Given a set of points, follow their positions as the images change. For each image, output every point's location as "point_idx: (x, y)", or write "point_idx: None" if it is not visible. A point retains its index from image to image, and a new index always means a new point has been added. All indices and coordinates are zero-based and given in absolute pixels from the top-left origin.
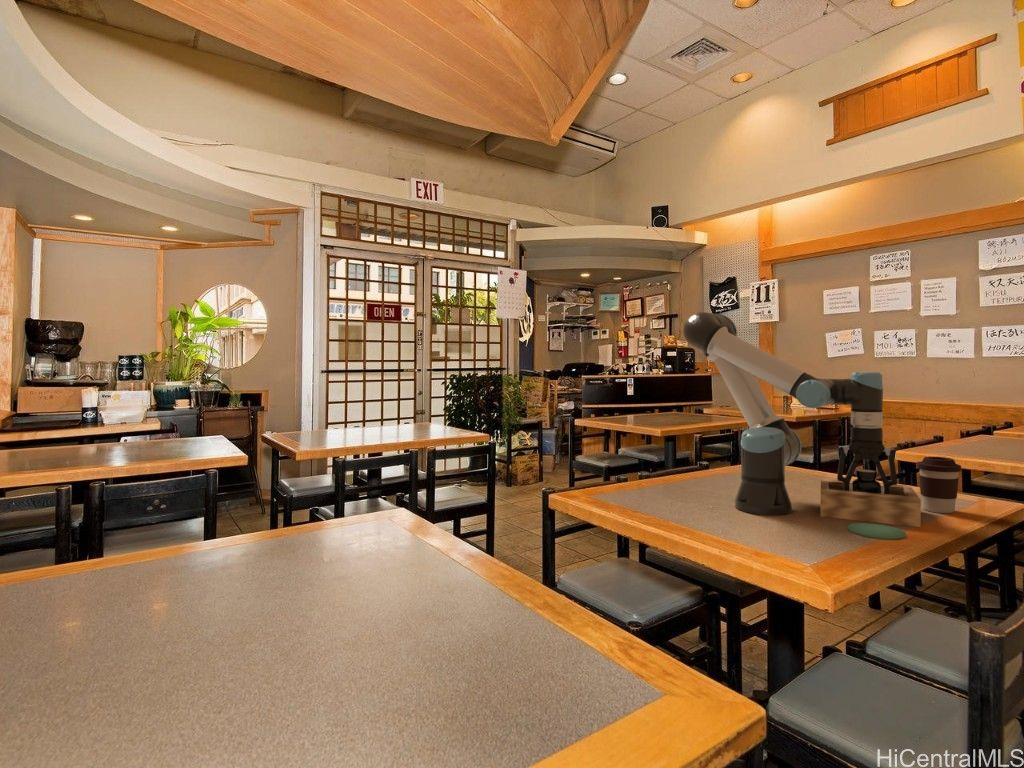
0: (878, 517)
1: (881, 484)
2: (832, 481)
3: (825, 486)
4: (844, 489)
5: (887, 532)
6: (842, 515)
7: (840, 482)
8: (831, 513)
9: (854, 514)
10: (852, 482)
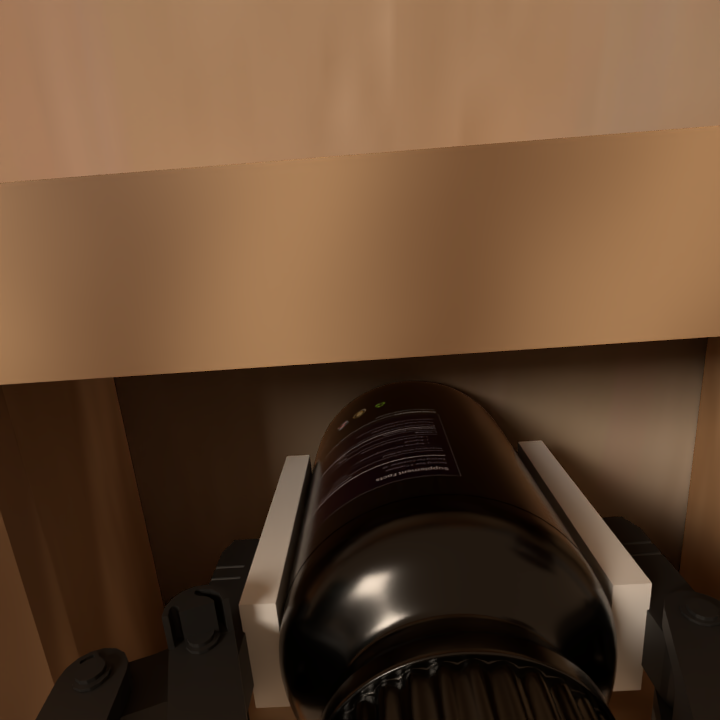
0: None
1: (655, 247)
2: (7, 362)
3: (28, 707)
4: (215, 577)
5: None
6: None
7: (116, 376)
8: None
9: None
10: (282, 679)
